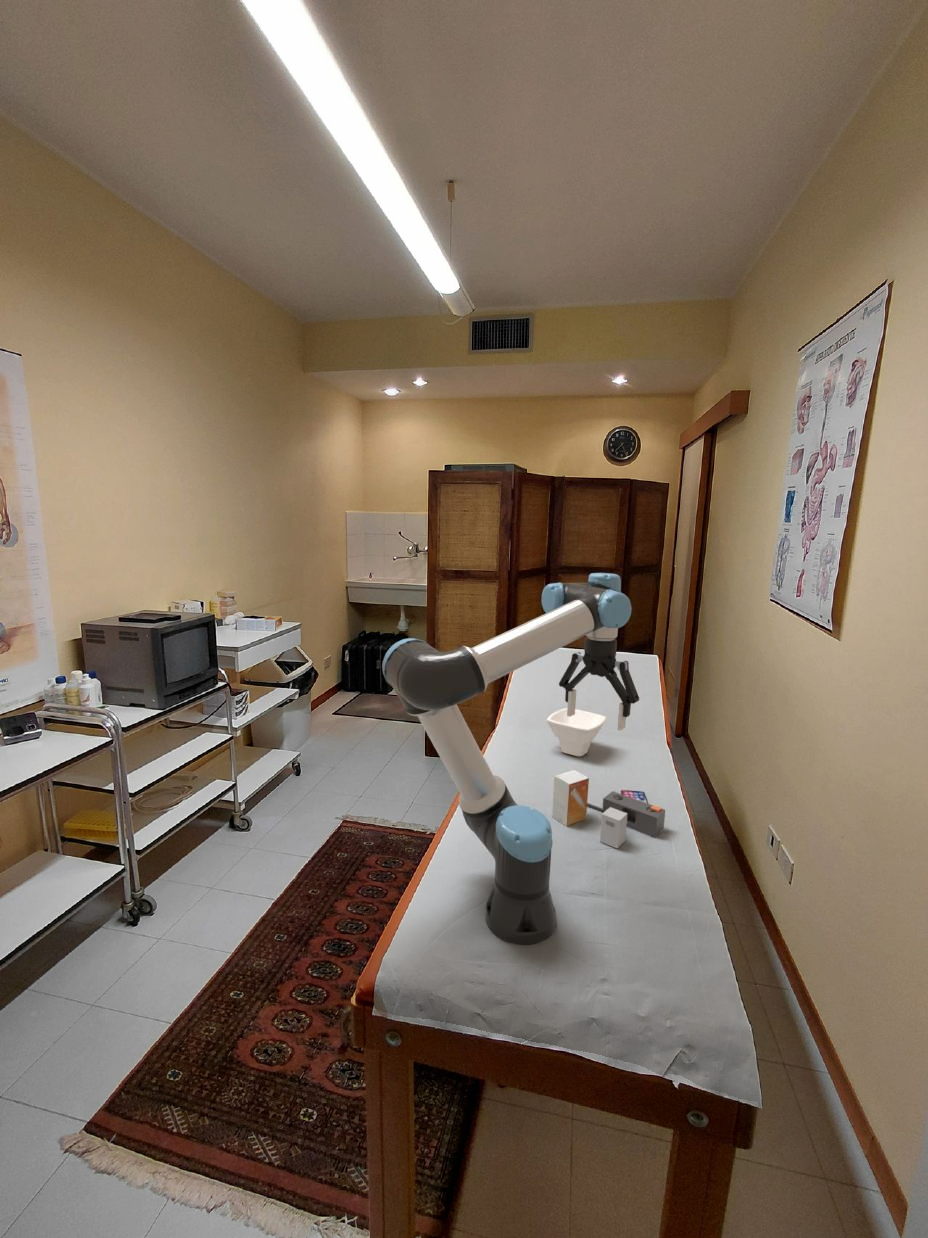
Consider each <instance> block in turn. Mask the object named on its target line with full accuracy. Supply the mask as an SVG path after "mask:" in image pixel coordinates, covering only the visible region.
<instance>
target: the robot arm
mask: <svg viewBox="0 0 928 1238" xmlns="http://www.w3.org/2000/svg"><path fill="white" fill-rule="evenodd" d="M541 605H542V609H543V611H544V614H541V615H540V616H538V617H535V618H534V619H533V618H532V619H531V620H528V621H527V622H525V623H523V624H520V625H518V626H516V627H514V628H512V629H509V630H507V631H505V632H503V633H501V634H499V635H495V636H494V637H491V638H489V639H488V640H485V641H483V642H481V643H479V644H477V645H475V646H473V647H470V646H469V647H468V646H466V645H462V646H459V647H457V648H455V649H452V650H450V651H448V650H447V651H440V650H438V649H436V648H434V647H433V646H431V645H430V644H429V643H428V642H426V641H425V640H422V639H419V638H412V637H411V638H410V637H409V638H403V639H401V640H399V641H396V642H395V643H394V644H392V645H391V646H390V648H389V649H388V650H387V651H386V653H385V655H384V657H383V660H382V666H381V667H382V674H383V676H384V680H385V682H386V683H387V684H388V685H389V686H390V687H392V689H393V690H394V692H395V693H396V696H397V697H398V699H399V700H400V703H401V704H402V706H403V708H404V710H405V712H406V713H407V714H408V715H410V716H413V717H417V718H418V720H419V722H420V723H421V725H422V727H423V729H424V731H425V732H426V734H427V736H428V738H429V739H430V741H431V743H432V745H433V747H434V749H435V750H436V752H437V754H438V756H439V758H440V760H441V761H442V763H443V765H444V767H445V769H446V770H447V772H448V774H449V776H450V777H451V779H452V781H453V783H454V785H455V786H456V788H457V790H458V792H459V793H460V795H459V797H458V805H459V807H460V809H461V811H462V816H463V818H464V822H465V823H466V825H467V827H468V828H469V829H470V830H471V831H472V832H473V834H474V835H476V837H477V838H478V840H480V842H481V843H482V845H484V847H485V848H486V849H487V851H488V852H489V854H491V856H492V857H493V859H494V861H495V862H494V864H495V865H494V867H495V868H494V884H493V886H492V888H491V891H490V892H489V896H488V898H487V900H486V905H485V922H486V925H487V927H488V928H489V929H490V931H491V932H492V933H493V934H494V935H495V936H497V937H499V938H501V939H502V940H504V941H506V942H508V943H513V944H518V945H531V944H532V945H533V944H538V943H540V942H543V941H544V940H546V939H547V938H549V937H550V936H551V935H552V934H553V932H554V931H555V929H556V919H557V913H556V908H555V905H554V902H553V897H552V894H551V891H550V879H551V860H552V849H553V842H554V841H553V833H552V832H553V831H552V826H551V823H550V821H549V819H548V818H547V817H546V815H544V814H543V813H542V812H541V811H539V810H538V809H536V808H530V806H527V805H521V804H520V805H518V804H517V802H516V801H515V799H514V798H513V796H512V794H511V792H510V790H509V788H508V787H507V785H506V783H505V781H504V779H503V778H501V777H500V776H498V775H494V774H493V771H491V769H490V765H489V764H488V763H487V761H486V759H485V756H484V755H483V752H482V751H481V749H480V747H479V744H478V743H477V742H476V739H475V738H474V735H473V733H472V731H471V729H470V728H469V726H468V724H467V722H466V719H465V718H464V716H463V714H462V712H461V711H460V710H461V709H459V706H458V704H461V703H463V702H465V701H467V700H471V699H472V698H474V697H476V696H478V695H480V694H482V693H484V692H486V691H487V688H488V685H489V684H490V683H492V682H494V681H496V680H498V679H500V678H502V677H504V676H507V675H508V674H510V673H512V672H514V671H516V670H518V669H520V668H522V667H525V666H526V665H528V664H530V663H532V662H534V661H537V660H538V659H540V658H543V657H544V656H546V655H549V654H550V653H554V651H556V650H559V649H561V648H563V647H564V646H567V645H569V644H570V643H573V642H575V641H576V640H579V639H581V638H583V637H585V636H586V637H585V638H584V647H583V648H584V650H583V651H584V654H582V653H581V652H580V651H577V652H574V653H572V655H571V660H570V663H569V665H568V667H567V668H566V670H565V672H564V674H563V675H562V677H561V679H560V680H559V682H558V686H559V687H561V688H563V689H564V690H565V697H564V698H565V699H564V700H565V702H566V703H567V708H568V709H567V716H568V717H570V716H572V715H574V714H575V709H576V703H577V689H575V687H576V686H578V684H579V683H580V682H581V681H583V679H584V678H586V676H587V675H589V674H590V675H591V676H597V677H601V678H604V677H605V679H606V680H607V681H609V683H610V684H611V686H612V688H613V690H614V691H615V692H616V694H617V696H618V698H619V699H620V701H621V702H620V703H619V705H618V706H619V708H618V715H617V716H618V717H617V718H618V720H617V731H623V730H624V729H626V722H627V718H628V717H629V716H630V715H631V705H633V704H635V703H638V702H639V701H640V697H639V694H638V691H637V689H636V686H635V683H634V681H633V678H632V675H631V673H630V670H629V669H630V668H629V664H630V663H629V661H628V660H623V661H617V658H616V655H617V646H618V640H617V637H618V633H619V632H618V631H619V629H620V628H621V627H623V626H625V625H626V624H627V623H628V622H629V619H630V617H631V615H632V609H633V607H632V603H631V600H630V599H629V597H628V596H627V595H626V594H625V593H622V579H621V576H620V575H618V574H616V573H606V572H594V573H593V572H592V573H590V574H589V575H588V580H587V581H586V582H553V583H549V584H547V585H545V586H544V588H543V590H542V593H541ZM582 662H583V664H584V667H583V668H582V669H581V670H580V671H579V673H578V674H576V675H575V676H574V677H573V678H572V676H573V675H574V673H575V671H576V669H577V668H578V666H579V664H580V663H582ZM616 668H617V670H618V671H619V675H620V677H621V680H622V681H621V680H620V679H619V677H618V674H617V671H616V670H615V669H616ZM571 678H572V680H571Z"/></svg>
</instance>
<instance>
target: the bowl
mask: <svg viewBox="0 0 928 1238" xmlns="http://www.w3.org/2000/svg"><path fill="white" fill-rule="evenodd" d="M567 709H568V707H565V708H561V709H558V710H556V711H554V712H553V713H551V714H550V715H548V717H547V718H546V722H547V724H548V725H549V727H550V729H551V731H552V733H553V735H554V737H556V738H558V742H559V746H560V750H561V752H562V753H565V754H567V755H572V756H574V757H582V756H584V755H585V754H587V753H588V752H589V749H590V746H591V743H592V741H593V740H594V739H595V738H596V737H597V735H598V734H599V732H600V730H601V729H602V727H603V726H604V724H605V723H606V721H607V717H606V716H605V715H602V714H598V713H595V712H591V711H586V710H581V709H576V708H575V714H574V715H572V716H570V717H568V716H567Z"/></svg>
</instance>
